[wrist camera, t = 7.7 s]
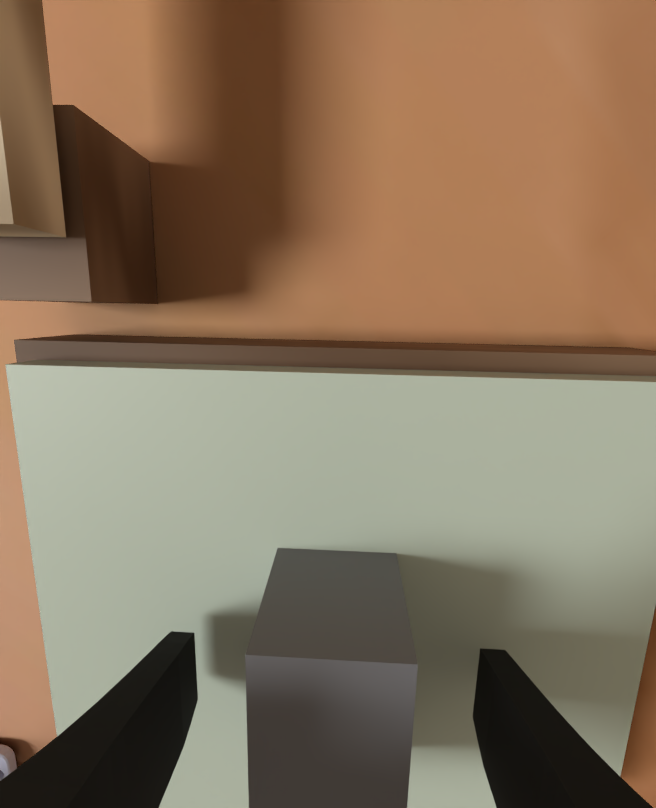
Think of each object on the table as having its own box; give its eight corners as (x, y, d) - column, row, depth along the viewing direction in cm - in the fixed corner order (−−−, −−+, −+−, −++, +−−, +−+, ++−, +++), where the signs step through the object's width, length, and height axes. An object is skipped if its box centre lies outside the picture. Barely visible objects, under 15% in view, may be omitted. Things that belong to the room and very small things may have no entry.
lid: (580, 842, 14) (687, 1091, 9) (90, 808, 14) (-22, 1024, 10) (668, 376, 11) (894, 423, 6) (35, 359, 11) (-165, 391, 7)
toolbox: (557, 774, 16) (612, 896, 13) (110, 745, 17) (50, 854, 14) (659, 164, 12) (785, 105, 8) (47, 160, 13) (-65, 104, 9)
